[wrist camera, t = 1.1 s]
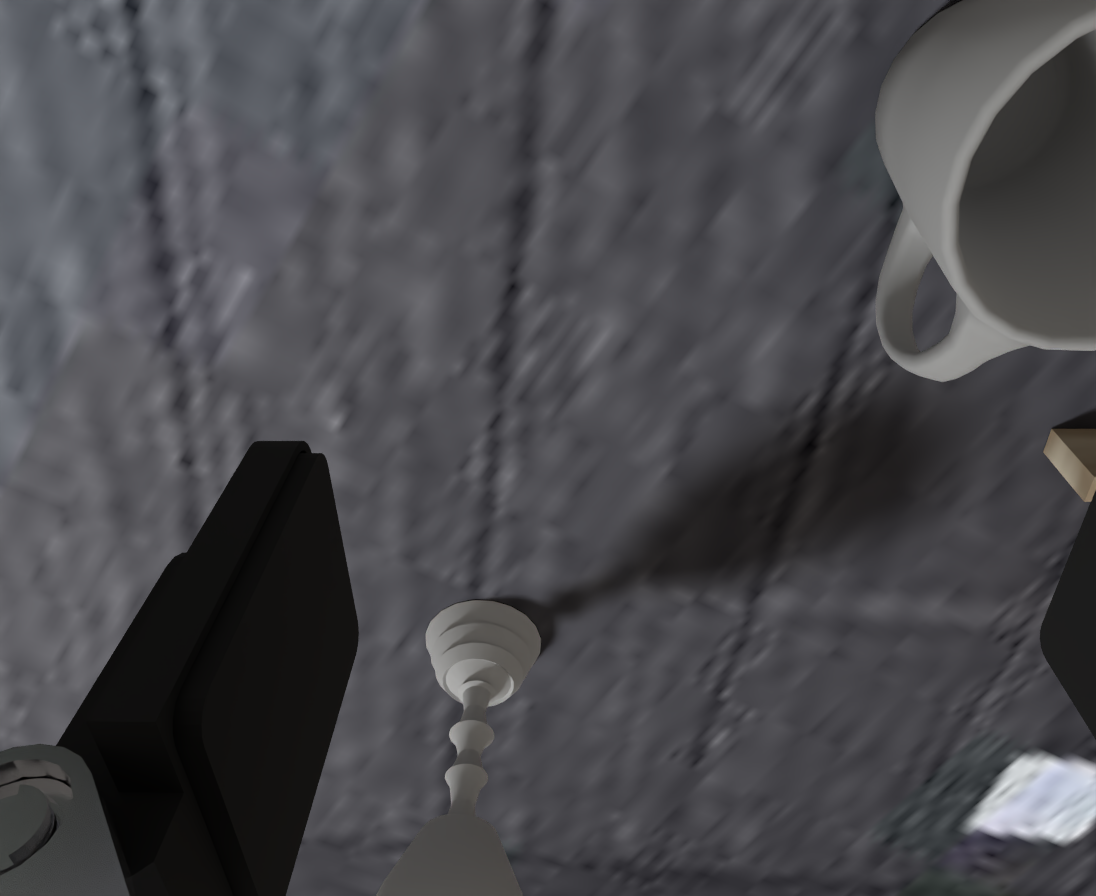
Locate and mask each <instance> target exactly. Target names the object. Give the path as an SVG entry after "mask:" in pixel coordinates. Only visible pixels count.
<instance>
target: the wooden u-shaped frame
mask: <svg viewBox="0 0 1096 896" xmlns="http://www.w3.org/2000/svg"><path fill="white" fill-rule="evenodd" d="M1044 454H1045V455H1046V456H1047V457H1048V458H1049V460H1050V461H1051V462H1052V463H1053V464H1054V466H1055V467H1056V468H1057V469H1058V470H1059V472H1060V473H1061V474H1062V475H1063V477H1064V478H1065V479H1066V480H1067V481H1068V483H1069V484H1070V485H1071V486H1072V487H1073V489H1074V490H1075V491H1076V492H1077V493H1078V495H1079V496H1080V497H1081V498H1082V499H1083V501H1084V502H1091V501H1092V498H1093V496H1094V493H1095V491H1096V429H1051V432H1050V435H1049V438H1048V440H1047V443H1046V446H1045V449H1044Z"/></svg>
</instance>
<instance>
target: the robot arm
mask: <svg viewBox="0 0 1096 896" xmlns="http://www.w3.org/2000/svg"><path fill="white" fill-rule="evenodd" d="M358 635H359V631H358V620H357V615H356V609H355V604H354V599H353V594H352V589H351V583H350V578H349V573H348V568H347V562H346V557H345V552H344V547H343V541H342V536H341V531H340V526H339V520H338V515H337V510H336V505H335V499H334V494H333V489H332V484H331V478H330V473H329V468H328V464H327V460H326V458H325V456H324V455H323V454H322V453H311V449H310V447H309V446H308V444H307V443H306V442H305V441H257V442H254V443H253V444H252V445H251V446H250V448H249V449H248V451H247V453H246V454H245V456H244V458H243V459H242V461H241V463H240V464H239V466H238V468H237V469H236V471H235V473H234V474H233V476H232V478H231V479H230V481H229V483H228V484H227V486H226V488H225V489H224V491H223V493H222V494H221V496H220V498H219V499H218V501H217V503H216V504H215V506H214V508H213V509H212V511H211V513H210V515H209V516H208V518H207V520H206V521H205V523H204V525H203V526H202V528H201V530H200V531H199V533H198V535H197V536H196V538H195V540H194V541H193V543H192V545H191V546H190V548H189V550H188V551H187V553H181V554H179V555H177V556H175V557H174V558H173V559H172V560H171V562H170V563H169V564H168V565H167V566H166V568H165V570H164V571H163V573H162V575H161V576H160V578H159V579H158V581H157V583H156V584H155V586H154V588H153V589H152V591H151V592H150V594H149V596H148V597H147V599H146V601H145V602H144V604H143V605H142V607H141V609H140V610H139V612H138V614H137V615H136V617H135V618H134V620H133V622H132V623H131V625H130V627H129V628H128V630H127V631H126V633H125V635H124V636H123V638H122V640H121V641H120V643H119V644H118V646H117V648H116V649H115V651H114V652H113V654H112V656H111V657H110V659H109V661H108V662H107V664H106V665H105V667H104V669H103V670H102V672H101V674H100V675H99V677H98V678H97V680H96V682H95V683H94V685H93V687H92V688H91V690H90V691H89V693H88V695H87V696H86V698H85V700H84V701H83V703H82V704H81V706H80V708H79V709H78V711H77V713H76V714H75V716H74V717H73V719H72V721H71V722H70V724H69V726H68V727H67V729H66V730H65V732H64V734H63V735H62V737H61V739H60V740H59V742H58V743H57V745H56V746H52V745H44V744H36V745H29V746H21V747H13V748H10V749H7V750H4V751H1V752H0V896H286V892H287V889H288V885H289V882H290V879H291V875H292V872H293V868H294V865H295V861H296V858H297V855H298V851H299V848H300V844H301V841H302V837H303V834H304V831H305V827H306V824H307V820H308V817H309V813H310V810H311V807H312V803H313V800H314V796H315V793H316V790H317V786H318V783H319V779H320V776H321V772H322V769H323V766H324V762H325V759H326V755H327V752H328V748H329V745H330V742H331V738H332V735H333V731H334V728H335V725H336V721H337V718H338V714H339V711H340V707H341V704H342V701H343V697H344V694H345V690H346V687H347V683H348V680H349V677H350V673H351V670H352V666H353V663H354V660H355V656H356V652H357V647H358ZM1040 642H1041V648H1042V651H1043V654H1044V656H1045V658H1046V660H1047V662H1048V663H1049V665H1050V667H1051V668H1052V670H1053V671H1054V673H1055V675H1056V676H1057V678H1058V679H1059V681H1060V683H1061V684H1062V686H1063V688H1064V689H1065V691H1066V692H1067V694H1068V696H1069V697H1070V699H1071V700H1072V702H1073V704H1074V705H1075V707H1076V708H1077V710H1078V712H1079V713H1080V715H1081V717H1082V718H1083V720H1084V721H1085V723H1086V725H1087V726H1088V728H1089V729H1090V731H1091V733H1092V734H1093V736H1094V737H1095V739H1096V491H1095V493H1094V496H1093V498H1092V501H1091V503H1090V506H1089V508H1088V511H1087V513H1086V516H1085V518H1084V521H1083V523H1082V526H1081V528H1080V531H1079V533H1078V536H1077V538H1076V541H1075V543H1074V546H1073V548H1072V551H1071V553H1070V556H1069V558H1068V561H1067V563H1066V566H1065V568H1064V571H1063V573H1062V576H1061V578H1060V581H1059V583H1058V586H1057V588H1056V590H1055V593H1054V595H1053V598H1052V600H1051V603H1050V605H1049V608H1048V610H1047V613H1046V615H1045V618H1044V620H1043V623H1042V626H1041V630H1040Z"/></svg>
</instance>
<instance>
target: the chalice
mask: <svg viewBox="0 0 1096 896" xmlns="http://www.w3.org/2000/svg"><path fill="white" fill-rule="evenodd" d="M426 647H427V649H428V651H429V653H430V656H431V663H432V665H433V667H434V669H435V671H436V678H437V680H438V682H439V684H440V686H441V687H442V688H443V689H444V690H445V691H446V692H447V693H448V694H449V695H450V696H451V697H452V698H453V699H455V700H456V701H458V702H460V703H462V704H463V705H464V713H463V715H462V718H461V720H460V722H459V723H457V724H455V725H454V726H453V727H452V728H451V730H450V732H449V737H450V739H451V741H452V742H453V743H454V744H455V745H456V747H457V753H458V757H457V759H456V761H455V763H454V765H453V766H452V767H451V768H450V769H449V770H447V772H446V774H445V780H446V782H447V783H448V785H449V787H450V794H451V807H450V810H449V813H448V814H447V815H442V816H439V817H436V818H434V819H432V820H430V821H429V822H427V823H426V824H425V825H424V826H423V827H422V829H421V830H420V831H419V833H418V834H417V836H416V837H415V838H414V840H413V841H412V843H411V844H410V845H409V847H408V848H407V849H406V851H405V852H404V854H403V855H402V856H401V858H400V859H399V861H398V862H397V863H396V865H395V866H394V868H393V869H392V870H391V872H390V873H389V875H388V876H387V877H386V879H385V880H384V882H383V884H382V886H381V888H380V889H379V891H378V893H377V895H376V896H523V894H522V892H521V889H520V887H519V884H518V882H517V880H516V877H515V875H514V872H513V870H512V868H511V865H510V863H509V860H508V858H507V856H506V853H505V851H504V848H503V846H502V844H501V841H500V839H499V836H498V834H497V832H496V830H495V828H494V827H493V826H492V825H491V824H489V823H488V822H487V821H485V820H483V819H481V818H479V817H476V815H475V804H476V801H477V798H478V795H479V792H480V789H481V788H482V787H483V786H485V785H486V783H487V781H488V776H487V773H486V771H485V770H484V769H483V767H482V762H481V757H480V756H481V754H482V752H483V750H484V748H486V747H488V746H489V745H490V744H491V743H492V741H493V740H494V732H493V730H492V729H491V728H490V727H489V726H488V725H487V721H486V714H485V712H486V709H487V707H489V706H495V705H497V704H499V703H502V702H504V701H505V700H507V699H508V698H509V697H511V696H512V695H513V694H514V693H515V692H516V691H517V690H519V688H520V686H521V684H522V682H523V680H524V679H525V678H526V676H527V674H528V672H529V670H530V668H531V667H532V666H533V665H534V663H535V661H536V660H537V658H538V656H539V654H540V649H541V638H540V635H539V633H538V630H537V628H536V626H535V625H534V624H533V623H532V621H531V620H530V619H529V618H528V617H527V616H526V615H525V614H523V613H521V612H520V611H518V610H516V609H515V608H513V607H511V606H508V605H505V604H501V603H498V602H495V601H482V600H472V601H467V602H462V603H457V604H454V605H452V606H450V607H448V608H446V609H444V610H442V611H441V612H440V613H439V614H438V615H437V616H436V617H435V618H434V619H433V620H432V621H431V622H430V624H429V627H428V629H427V632H426Z"/></svg>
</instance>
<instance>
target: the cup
mask: <svg viewBox="0 0 1096 896" xmlns="http://www.w3.org/2000/svg"><path fill="white" fill-rule="evenodd" d="M875 125H876V141H877V144H878V147H879V150H880V153H881V156H882V159H883V162H884V164H885V166H886V169H887V171H888V173H889V175H890V177H891V179H892V181H893V183H894V185H895V187H896V189H897V191H898V193H899V195H900V198H901V200H902V202H903V210H902V213H901V215H900V218H899V221H898V223H897V226H896V229H895V232H894V234H893V237H892V240H891V243H890V246H889V249H888V252H887V255H886V258H885V261H884V264H883V267H882V270H881V273H880V276H879V283H878V289H877V296H876V325H877V328H878V332H879V335H880V339H881V342H882V345H883V347H884V349H885V350H886V352H887V353H888V355H889V356H890V358H891V359H892V360H894V361H895V362H896V363H897V364H899V365H900V366H901V367H903V368H904V369H906V370H907V371H909V372H912V373H914V374H916V375H918V376H921V377H925V378H929V379H932V380H936V381H940V382H945V381H949V380H953V379H957V378H959V377H961V376H963V375H965V374H967V373H969V372H971V371H973V370H974V369H976V368H977V367H979V366H980V365H981V364H983V363H984V362H986V361H988V360H990V359H992V358H995V357H997V356H1000V355H1002V354H1004V353H1007V352H1009V351H1012V350H1015V349H1019V348H1022V347H1026V346H1029V345H1031V346H1035V347H1038V348H1042V349H1050V350H1082V351H1093V350H1096V0H962V1H960V2H958V3H956V4H955V5H953V6H951V7H949V8H947V9H945V10H943V11H941V12H940V13H938V14H936V15H935V16H934V17H933V18H932V19H931V20H929V21H928V22H927V23H926V24H925V25H924V26H922V27H921V28H920V29H919V30H918V31H917V32H915V33H914V34H913V35H912V37H911V38H910V39H909V40H908V42H907V43H906V44H905V46H904V47H903V48H902V50H901V51H900V52H899V53H898V55H897V56H896V57H895V59H894V60H893V62H892V65H891V67H890V69H889V71H888V73H887V75H886V77H885V79H884V81H883V84H882V86H881V89H880V94H879V98H878V103H877V107H876V112H875ZM932 256H934V258H935V259H936V261H937V263H938V264H939V266H940V268H941V269H942V271H943V273H944V274H945V276H946V278H947V279H948V281H949V283H950V284H951V286H952V287H953V289H954V290H955V291H956V293H957V299H956V313H955V316H954V320H953V323H952V326H951V330H950V333H949V334H948V335H947V336H946V337H944V338H943V339H942V340H941V341H940V342H939V343H937V344H935V345H934V346H932V347H930V348H929V349H927V350H925V351H922V352H920V351H919V350H918V349H917V345H916V342H915V338H914V335H913V332H912V311H913V306H914V302H915V297H916V293H917V289H918V286H919V283H920V281H921V278H922V276H923V273H924V270H925V268H926V266H927V265H928V263H929V261H930V260H931V258H932Z"/></svg>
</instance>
